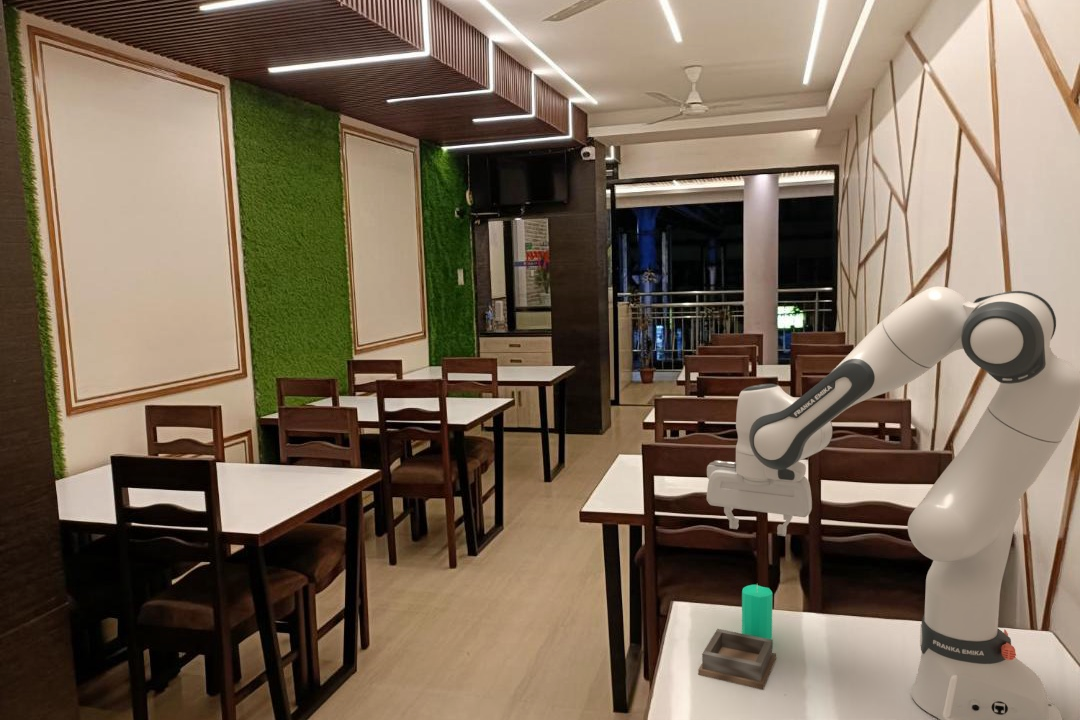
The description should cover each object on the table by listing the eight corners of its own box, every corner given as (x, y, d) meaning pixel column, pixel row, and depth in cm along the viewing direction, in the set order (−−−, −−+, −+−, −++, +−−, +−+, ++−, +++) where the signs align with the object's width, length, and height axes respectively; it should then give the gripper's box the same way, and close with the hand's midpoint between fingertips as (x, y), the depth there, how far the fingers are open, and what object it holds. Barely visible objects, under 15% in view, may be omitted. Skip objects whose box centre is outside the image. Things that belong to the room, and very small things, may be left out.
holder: (776, 658, 150) (776, 638, 150) (763, 689, 140) (763, 668, 139) (715, 645, 156) (715, 626, 155) (698, 674, 145) (698, 654, 145)
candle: (765, 649, 154) (766, 592, 152) (737, 641, 157) (737, 585, 156) (776, 637, 158) (777, 581, 157) (748, 629, 162) (748, 575, 160)
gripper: (702, 463, 155) (702, 529, 157) (809, 474, 145) (807, 544, 147) (711, 455, 160) (710, 519, 162) (814, 465, 151) (812, 533, 153)
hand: (757, 531), depth 155 cm, fingers open, 8 cm apart
